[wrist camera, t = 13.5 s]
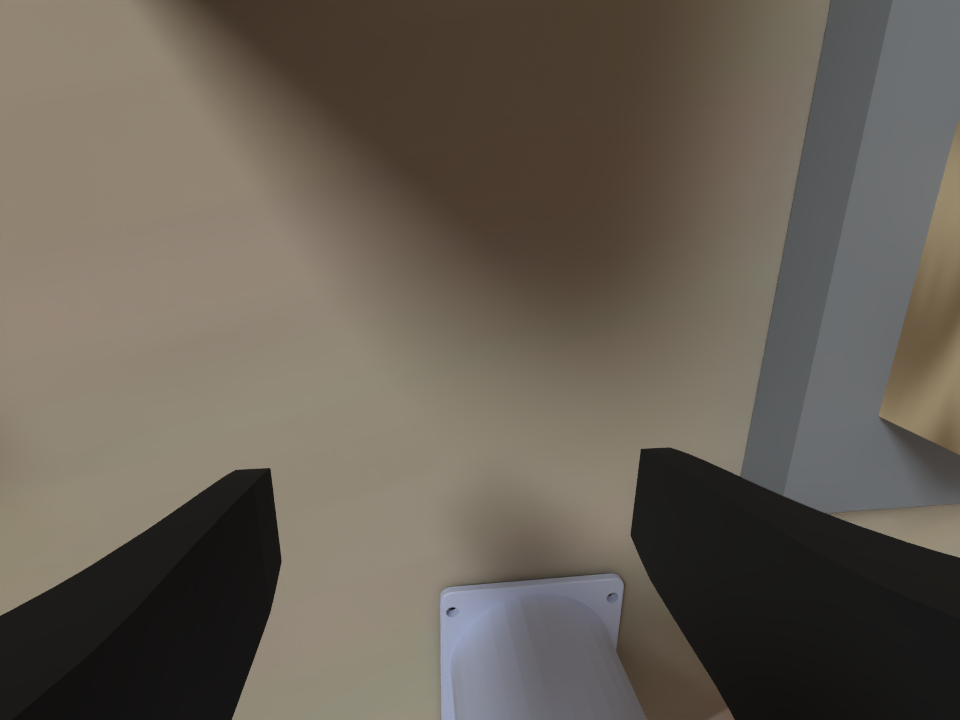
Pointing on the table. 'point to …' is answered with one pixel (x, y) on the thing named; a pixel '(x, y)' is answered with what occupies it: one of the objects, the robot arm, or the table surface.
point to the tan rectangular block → (932, 328)
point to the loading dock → (859, 264)
